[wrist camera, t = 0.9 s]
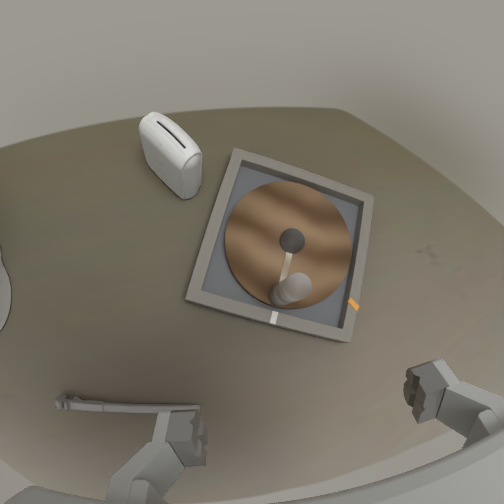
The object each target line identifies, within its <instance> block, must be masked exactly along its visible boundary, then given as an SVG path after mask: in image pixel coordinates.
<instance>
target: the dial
mask: <svg viewBox="0 0 504 504" xmlns="http://www.w3.org/2000/svg"><path fill="white" fill-rule="evenodd" d="M224 249H225V255H226V260H227V263H228V266H229V268H230V270H231V272H232V274H233V276H234V278H235V279H236V281H237V282H238V283H239V285H240V286H241V287H242V288H243V289H244V290H245V291H246V292H247V293H248V294H249V295H251V296H252V297H254V298H255V299H257V300H258V301H260V302H262V303H264V304H266V305H269V306H272V307H276V308H281V309H299V308H304V307H308V306H311V305H314V304H317V303H319V302H321V301H323V300H324V299H326V298H327V297H329V296H330V295H331V294H332V293H333V292H334V291H335V290H336V289H337V288H338V287H339V286H340V284H341V283H342V281H343V280H344V278H345V276H346V274H347V271H348V268H349V265H350V260H351V240H350V235H349V231H348V228H347V225H346V223H345V221H344V219H343V217H342V215H341V214H340V212H339V211H338V209H337V208H336V207H335V206H334V204H333V203H332V202H331V201H330V200H329V199H327V198H326V197H325V196H324V195H322V194H321V193H320V192H318V191H316V190H314V189H313V188H310V187H308V186H306V185H303V184H299V183H294V182H283V181H281V182H272V183H268V184H264V185H262V186H259V187H257V188H255V189H253V190H252V191H250V192H249V193H247V194H246V195H245V196H244V197H243V198H242V199H241V200H240V201H239V202H238V203H237V205H236V206H235V207H234V209H233V211H232V213H231V215H230V217H229V220H228V223H227V226H226V231H225V238H224Z"/></svg>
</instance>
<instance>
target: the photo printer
mask: <svg viewBox="0 0 504 504" xmlns="http://www.w3.org/2000/svg"><path fill="white" fill-rule="evenodd" d="M139 134H140V138H141V142H142V146H143V151H144V154H145V158H146V161H147V163H148V165H149V167H150V168H151V169H152V170H153V171H154V172H155V174H156V175H157V176H158V177H159V178H160V179H161V180H162V181H163V182H164V183H165V184H166V185H167V186H168V187H169V188H170V189H171V190H172V191H173V192H174V193H176V194H177V195H178V196H179V197H180V198H182V199H183V200H185V199H189V198H192V197H194V196H195V195H196V194H197V192H198V190H199V187H200V186H201V170H202V153H201V151H200V149H199V147H198V146H197V145H196V143H195V142H194V141H193V140H192V139H191V137H190V136H189V135H188V134H187V133H186V132H185V131H184V130H182V129H181V128H180V127H179V126H178V125H177V124H176V123H174V122H173V121H172V120H170V119H169V118H167V117H166V116H164V115H162V114H160V113H157V112H151V113H150V114H149V115H147V116H145V117H144V118H143V119H142V121H141V122H140V125H139Z"/></svg>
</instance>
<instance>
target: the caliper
mask: <svg viewBox="0 0 504 504" xmlns="http://www.w3.org/2000/svg"><path fill="white" fill-rule="evenodd" d="M55 407H57V408H58V410H60V409H63V408H64V409H65V410H66V411H67V410H68V409H69V408H71V409H73V410H84V411H97V412H103V411H108V412H128V413H159V412H160V411H165V410H189V409H198V411H200V405H190V404H125V403H107V402H104V401H94V400H81V399H80V398H79V397H78V396H75V397H73V400H70V399H68V397H67V395H62V396H59V397H57V398H56V399H55Z"/></svg>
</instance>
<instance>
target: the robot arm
mask: <svg viewBox="0 0 504 504" xmlns="http://www.w3.org/2000/svg"><path fill="white" fill-rule="evenodd" d="M10 304H11V287H10V281H9V277H8V274H7V272H6V269H5V267H4V265H3V263H2V260H1V249H0V330H1V329H2V327H3V326H4V324H5V322H6V320H7V317H8V314H9V310H10ZM406 377H407V381H406V382H405V383H404V388H403V391H404V397H405V400H406V402H407V404H408V405H409V406H411V407H413V410H412V414H413V416H414V418H415V420H416V421H417V423H418V424H419V423H422V422H425V421H428V420H431V419H434V418H436V419H437V420H439V421H441V422H442V423H444V424H445V425H447V426H448V427H450V428H452V429H453V430H455V431H456V432H458V433H460V434H461V435H463V436H464V437H466V438H467V440H466V442H465V444H464V446H463V447H462V449H461V450H459V451H457V452H455V453H452V454H450V455H448V456H445V457H443V458H441V459H439V460H436V461H434V462H431V463H429V464H426V465H424V466H421V467H418V468H416V469H413V470H411V471H407V472H405V473H402V474H399V475H396V476H393V477H390V478H387V479H384V480H380V481H377V482H374V483H370V484H367V485H363V486H359V487H355V488H352V489H347V490H343V491H339V492H335V493H330V494H325V495H320V496H316V497H310V498H304V499H299V500H292V501H286V502H278V503H272V504H504V398H503V397H501V396H498V395H496V394H493V393H491V392H488V391H486V390H483V389H481V388H478V387H476V386H473V385H471V384H468V383H466V382H464V381H462V382H459V380H458V379H457V378H456V376H455V375H454V373H453V372H452V371H451V369H450V368H449V367H448V365H447V364H446V363H445V361H444V360H443V359H442V358H438V359H435V360H432V361H430V362H426V363H423V364H420V365H417V366H414V367H411V368H408V369H407V371H406ZM206 444H207V430H206V426H205V424H204V422H203V421H201V420H200V413H199V411H198V409H189V410H165V411H160V412H159V413H158V415H157V420H156V424H155V429H154V433H153V437H152V442H148V443H147V444H146V445H145V446H144V447H143V448H142V449H140V450H139V451H138V452H137V453H136V454H135V455H134V456H133V457H132V458H131V459H130V460H129V461H128V462H127V463H126V464H125V465H123V466H122V467H121V468H120V469H119V470H118V471H117V472H116V473H115V474H114V475H113V476H112V477H111V481H110V484H109V488H108V492H107V496H106V500H105V501H103V500H97V499H91V498H86V497H80V496H76V495H71V494H66V493H62V492H58V491H54V490H50V489H46V488H43V487H39V486H29V487H27V488H26V489H24V490H22V491H21V492H19V493H17V494H16V495H15V496H13V497H12V498H10V499H9V500H8V501H6V503H5V504H168V503H167V502H166V501H165V500H164V499H163V498H162V497H163V496H164V495H165V494H166V492H167V491H168V490H169V488H170V487H171V486H172V484H173V483H174V482H175V481H176V479H177V478H178V477H179V475H180V474H181V473H182V471H183V470H184V469H185V467H193V466H206V450H205V449H204V446H205V445H206ZM270 504H271V503H270Z"/></svg>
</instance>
